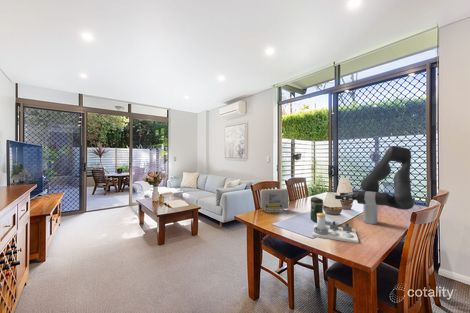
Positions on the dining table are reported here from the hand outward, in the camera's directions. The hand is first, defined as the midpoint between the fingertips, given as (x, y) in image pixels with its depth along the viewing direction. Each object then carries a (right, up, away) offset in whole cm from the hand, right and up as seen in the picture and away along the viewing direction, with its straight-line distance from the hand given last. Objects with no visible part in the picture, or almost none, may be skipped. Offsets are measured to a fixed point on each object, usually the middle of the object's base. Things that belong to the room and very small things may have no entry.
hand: (337, 195), depth 129 cm
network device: (-28, -27, +63) cm, 74 cm away
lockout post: (-8, -26, +7) cm, 28 cm away
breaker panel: (+1, -27, +8) cm, 28 cm away
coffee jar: (0, -27, +33) cm, 43 cm away
